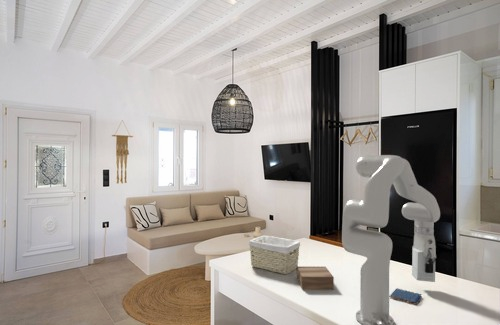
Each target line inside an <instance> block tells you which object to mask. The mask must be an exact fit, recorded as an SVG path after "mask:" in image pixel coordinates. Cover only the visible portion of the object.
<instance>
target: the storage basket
mask: <svg viewBox="0 0 500 325" xmlns="http://www.w3.org/2000/svg"><path fill="white" fill-rule="evenodd" d="M248 245H249V250H250V255H249V256H250V265H251V267H253V268H258V269H262V270H267V271H269V272H272V273H279V274H283V275H288V274H290V273H292V271H294V270H297V266H299V265H298V264H299V256H300V251H299V250H300V247H301V242H300V241H298V240H294V239H290V238H282V237H277V236H272V235H260V236H257V237H255V238H253V239H252V238H251V239H250V240H249V243H248Z"/></svg>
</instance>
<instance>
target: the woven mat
mask: <svg viewBox="0 0 500 325" xmlns="http://www.w3.org/2000/svg"><path fill="white" fill-rule="evenodd" d="M422 298H423V297H422V294H421V293H418V292H414V291H410V290H406V289H402V288H395V289H394V291H392V292H391V294H390V295H389V300H391V299H393V300H395V301H399V302H404V303H407V304H410V305H412V304H413V306H416V305H418V303H419V302H420V300H421V299H422Z"/></svg>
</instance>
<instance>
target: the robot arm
mask: <svg viewBox="0 0 500 325" xmlns="http://www.w3.org/2000/svg"><path fill="white" fill-rule="evenodd" d="M355 169H356V173H357V174H358V175H359V176H360V177H362V178H368V180H367V181H366V183H365V186H364V192H363V199H359V198H358V199H357V198H354V199H353V198H351V199H350V200H348V201H347V202H346V203H345V205H344V207H343V212H342V224H341V225H342V226H341V228H342V229H341V243H342V247H343V250H345V251H346V252H347V253H350V254H353V255H358V256H361V257H365V258H366V260H365V262H364V263H363V264H362V265H361V267H360V272H359V273H360V287H359V288H360V293H359V294H360V308H359V310H358V311H357V312H356V313H355V319H356V320H357V322H358V323H359V324H361V325H395V320H394V318H393V317H392V315H390V297H389V296H390V263H391V256H392V252H393V241H392V239H391V237H390V236H388V234H387V233H386V234H385V233H384V232H380V231H375V230H370V229H364V228H363V229H362V228H361V227H360V226H362V227H367V228H368V227H369V228H375V229H376V228H378V229H382V228H385V227H386V226H387V225H388V223H389V217H390V195H391V194H390V192H391V188H392V186H393V188H394V189H395V191H396V193H397V194H398V195H399V196H400V197H402V198H405V199H406V200H410V201H412V202H407V203H405V204H404V205H403V206H402V208H401V214H402V216H403V217H404V218H405V219H407V220H411V221H414V227H413V228H414V230H413V231H414V232H413V233H414V235H413V245H412V247H411V248H412V249H413V248H414V249H417V250H419V251H421V252H423V257H425V260H426V263H425V272H426V273H433V264H434V262H435V263H436V259H437V254H436V251H437V250H436V248H437V246H436V239H435V235H434V232H435V230H434V225H435V224H434V223H436V222H437V221H439V220H440V218H441V210H440V207H439V204H438V202H437V198H436V197H435V196H434V195H433V194H432V193H431V192H430V191H428V190H427V189H426V188H424V187H423V186H421V185H419V184H418V181H417V179H416V177H415V174H414V171H413V170H412V166H411V164H410V162H409V161H408V160H407V159H406V158H403V157H401V156H400V155H395V154H394V155H393V154H381V155H378V154H377V155H362V156H360V157H359V158H358V159H357V161H356V164H355ZM428 253H430V255H431V256H427V255H428ZM428 258H431V259H429V260H428Z"/></svg>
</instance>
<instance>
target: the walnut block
mask: <svg viewBox="0 0 500 325" xmlns="http://www.w3.org/2000/svg"><path fill="white" fill-rule="evenodd" d="M296 279H297V281H298V283H299V286H300V288H301V290H305V291H306V290H307V291H309V290H310V291H311V290H312V291H315V290H318V291H327V290H328V291H334V289H335V288H334V286H335V285H334V284H335V283H334V280H335V279H334V275H333V274H332V273H331V271H330V270H329V269H328V268H327V267H326V266H299V265H298V266H297V268H296Z"/></svg>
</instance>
